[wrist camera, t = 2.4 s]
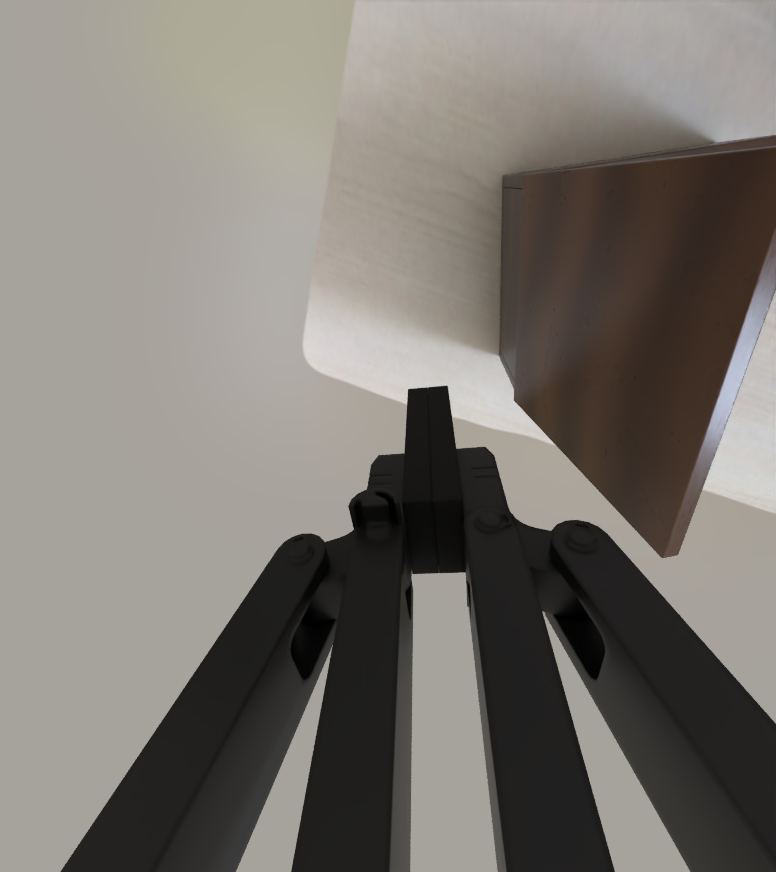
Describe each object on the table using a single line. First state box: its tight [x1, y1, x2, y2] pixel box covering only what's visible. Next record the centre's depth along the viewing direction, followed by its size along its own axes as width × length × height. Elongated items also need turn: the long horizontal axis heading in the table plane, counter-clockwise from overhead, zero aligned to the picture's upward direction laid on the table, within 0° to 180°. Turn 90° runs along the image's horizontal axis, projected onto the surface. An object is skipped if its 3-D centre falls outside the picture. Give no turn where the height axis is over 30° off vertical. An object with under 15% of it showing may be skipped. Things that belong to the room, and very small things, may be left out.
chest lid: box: [514, 146, 776, 558], centre depth 21 cm, size 16×15×1 cm
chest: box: [499, 135, 776, 388], centre depth 31 cm, size 16×15×9 cm
